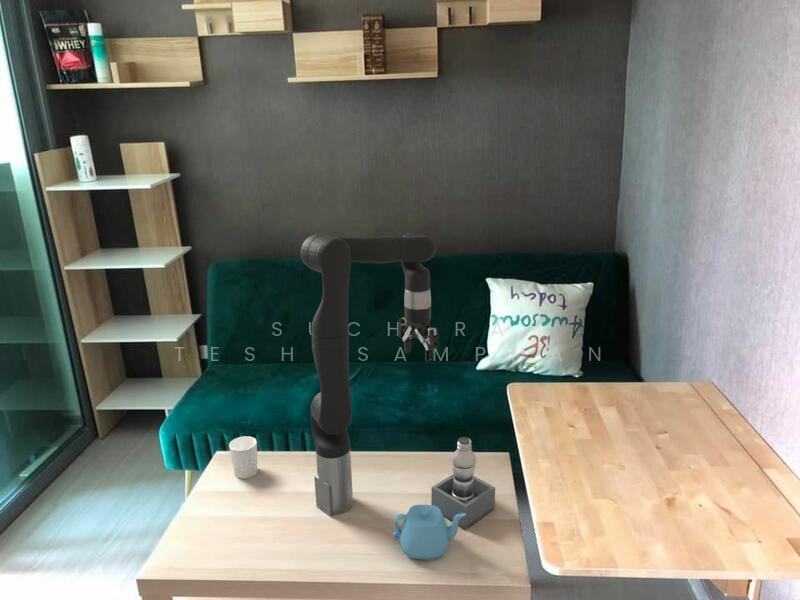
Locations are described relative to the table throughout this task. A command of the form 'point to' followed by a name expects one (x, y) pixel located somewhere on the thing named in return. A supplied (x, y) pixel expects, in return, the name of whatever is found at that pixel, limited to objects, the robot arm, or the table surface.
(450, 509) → the gray square open box
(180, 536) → the table surface
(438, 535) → the teapot
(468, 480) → the plastic bottle
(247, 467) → the white cup
